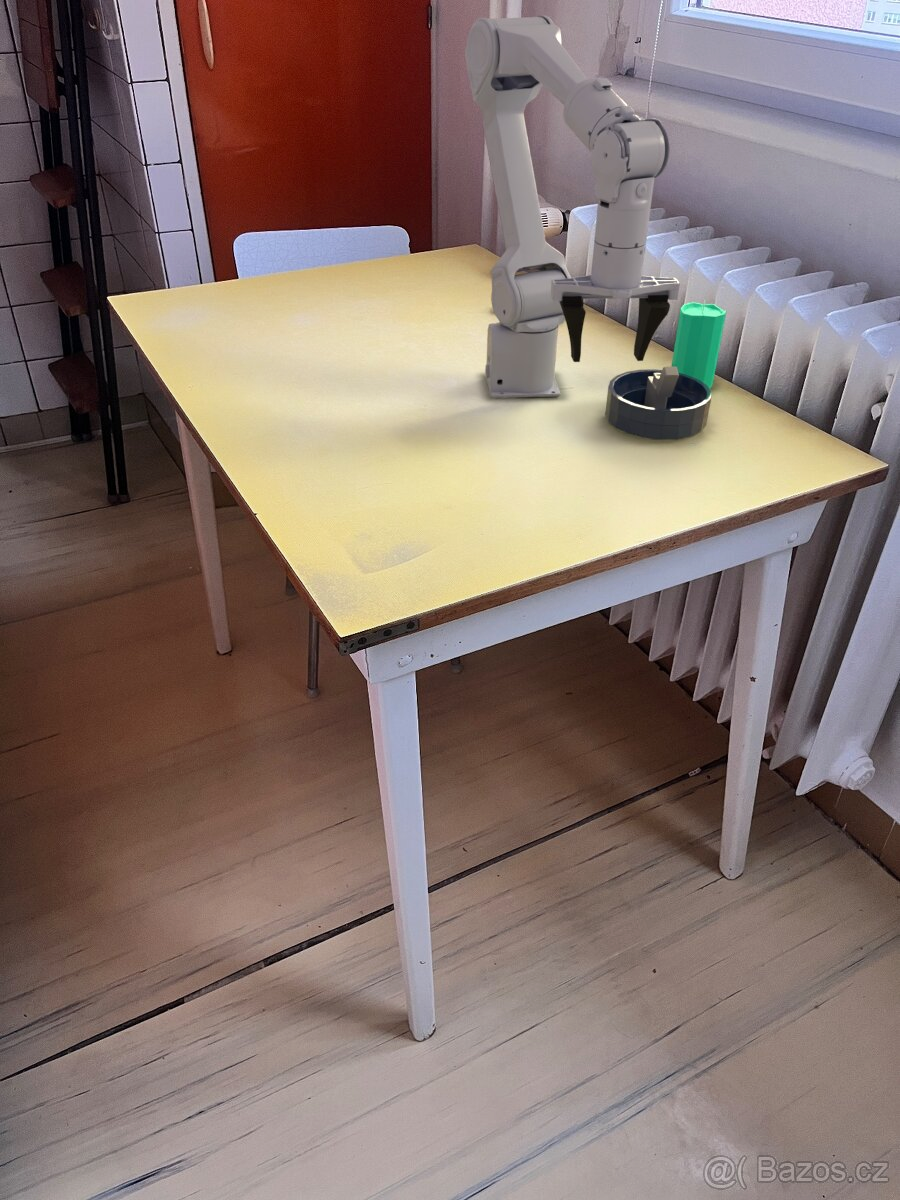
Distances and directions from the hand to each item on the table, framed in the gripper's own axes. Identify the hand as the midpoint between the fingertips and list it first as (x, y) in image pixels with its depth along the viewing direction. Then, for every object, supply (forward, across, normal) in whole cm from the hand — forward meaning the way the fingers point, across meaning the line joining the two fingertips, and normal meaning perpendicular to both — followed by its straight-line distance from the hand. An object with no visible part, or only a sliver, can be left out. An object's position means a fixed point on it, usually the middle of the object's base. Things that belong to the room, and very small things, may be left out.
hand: (606, 358), depth 112 cm
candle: (+10, +16, +15) cm, 24 cm away
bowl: (+10, +8, +3) cm, 13 cm away
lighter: (+10, +8, +3) cm, 13 cm away
